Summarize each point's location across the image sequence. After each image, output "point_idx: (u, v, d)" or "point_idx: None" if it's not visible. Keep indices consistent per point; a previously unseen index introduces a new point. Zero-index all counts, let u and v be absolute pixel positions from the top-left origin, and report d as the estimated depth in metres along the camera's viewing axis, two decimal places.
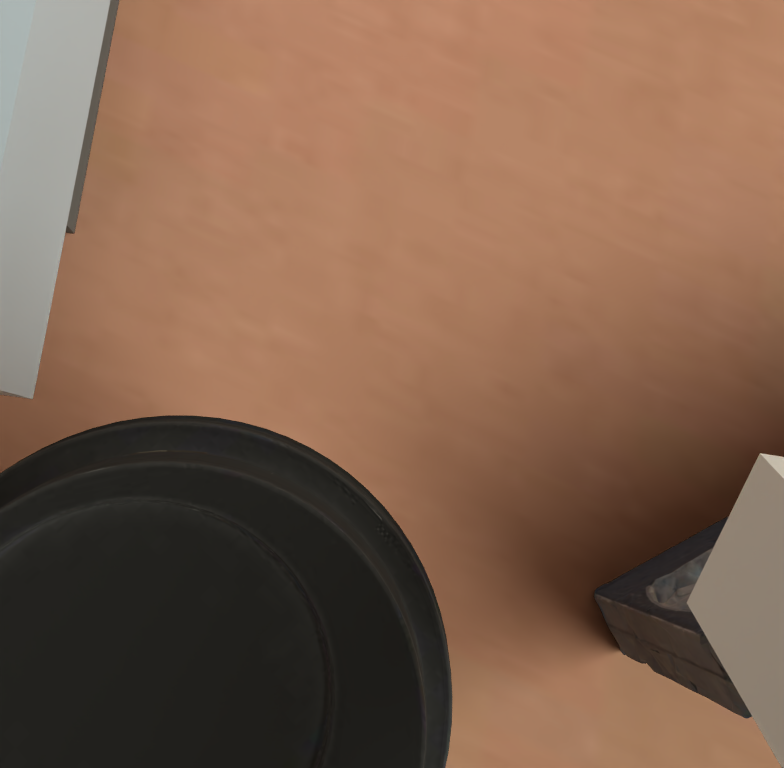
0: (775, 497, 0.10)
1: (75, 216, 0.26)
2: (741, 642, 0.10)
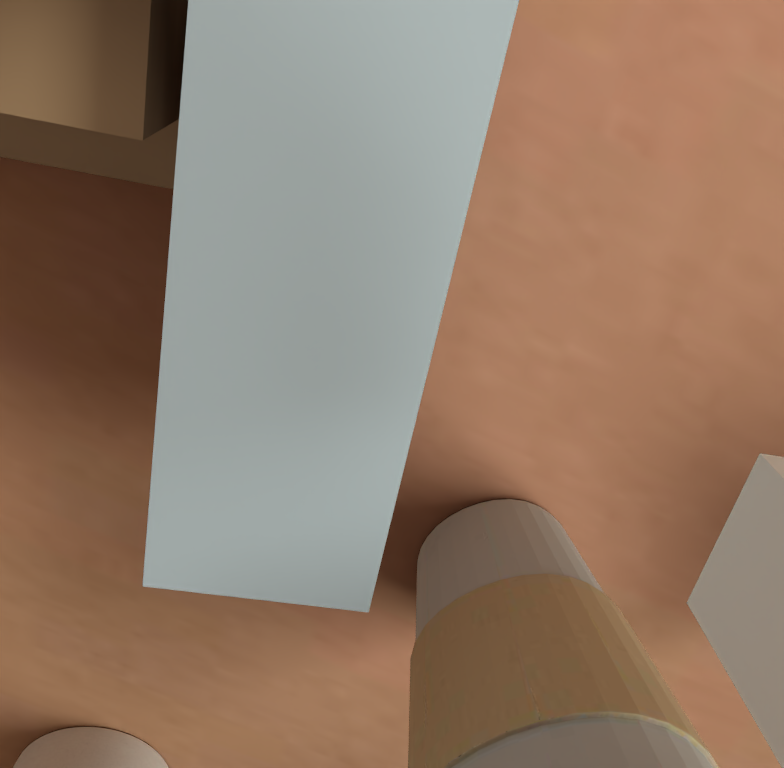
0: (775, 497, 0.10)
1: None
2: (741, 642, 0.10)
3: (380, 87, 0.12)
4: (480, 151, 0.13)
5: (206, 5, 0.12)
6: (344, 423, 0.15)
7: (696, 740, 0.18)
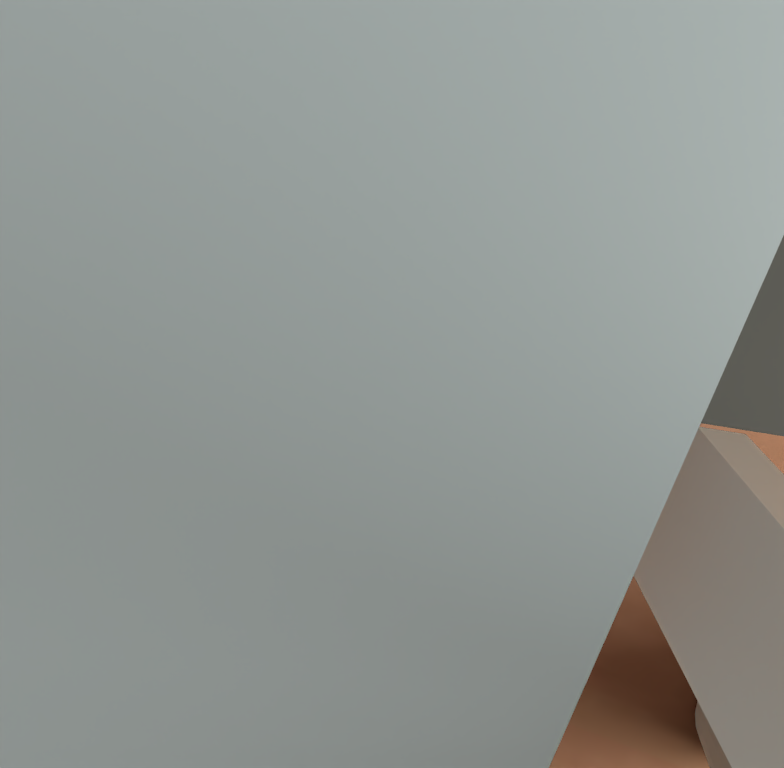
0: (709, 468, 0.10)
1: None
2: (678, 608, 0.10)
3: (465, 125, 0.04)
4: (745, 307, 0.04)
5: None
6: None
7: None
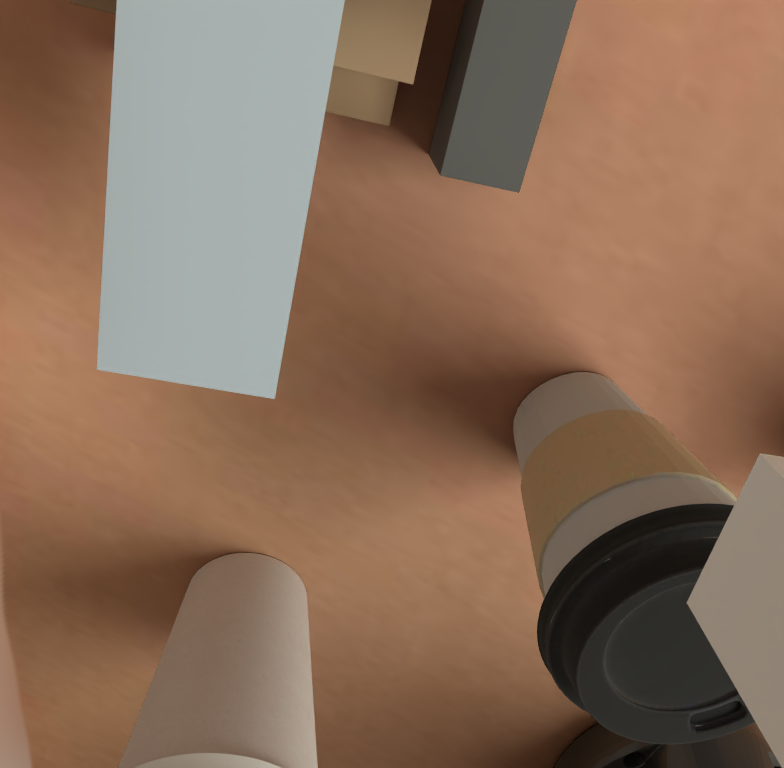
0: (775, 497, 0.10)
1: None
2: (741, 643, 0.10)
3: None
4: (341, 14, 0.17)
5: None
6: (249, 234, 0.19)
7: (735, 497, 0.27)
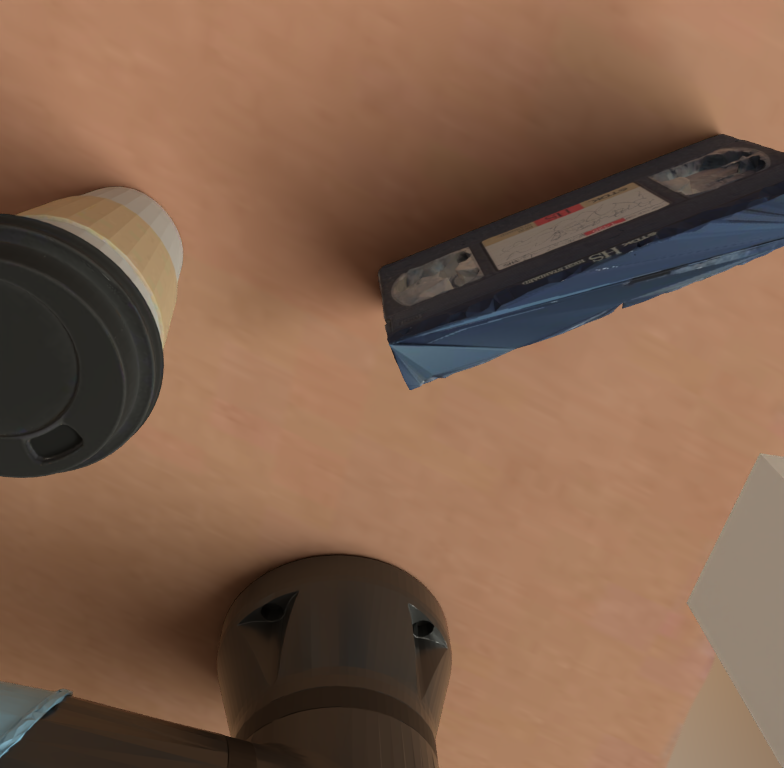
0: (775, 497, 0.10)
1: None
2: (741, 642, 0.10)
3: None
4: None
5: None
6: None
7: (115, 245, 0.27)
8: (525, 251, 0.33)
